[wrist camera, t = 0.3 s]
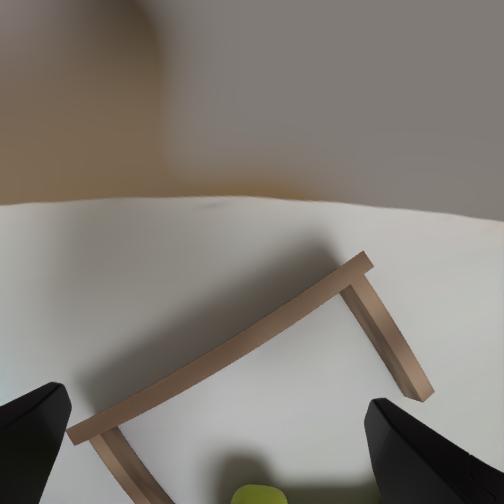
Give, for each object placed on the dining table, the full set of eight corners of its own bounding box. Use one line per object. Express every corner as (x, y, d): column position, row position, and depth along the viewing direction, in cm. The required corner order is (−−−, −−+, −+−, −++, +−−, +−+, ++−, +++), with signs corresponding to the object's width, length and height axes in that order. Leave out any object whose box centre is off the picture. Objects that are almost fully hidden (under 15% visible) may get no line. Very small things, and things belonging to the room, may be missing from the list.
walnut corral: (415, 386, 21) (449, 395, 16) (179, 526, 18) (168, 558, 13) (340, 267, 24) (363, 250, 19) (96, 415, 20) (64, 430, 15)
